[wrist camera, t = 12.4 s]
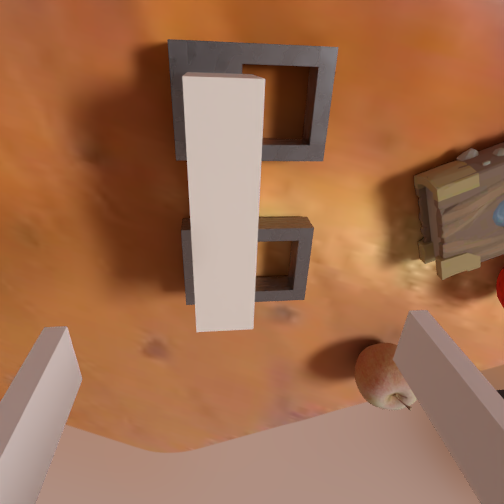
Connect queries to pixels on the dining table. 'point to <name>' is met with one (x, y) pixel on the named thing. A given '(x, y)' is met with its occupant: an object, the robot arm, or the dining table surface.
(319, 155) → the keyhole plates
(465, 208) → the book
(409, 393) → the fruit
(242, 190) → the bar
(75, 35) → the dining table surface
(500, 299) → the apple
